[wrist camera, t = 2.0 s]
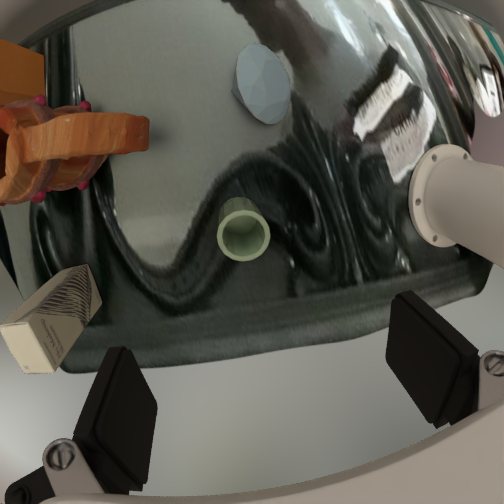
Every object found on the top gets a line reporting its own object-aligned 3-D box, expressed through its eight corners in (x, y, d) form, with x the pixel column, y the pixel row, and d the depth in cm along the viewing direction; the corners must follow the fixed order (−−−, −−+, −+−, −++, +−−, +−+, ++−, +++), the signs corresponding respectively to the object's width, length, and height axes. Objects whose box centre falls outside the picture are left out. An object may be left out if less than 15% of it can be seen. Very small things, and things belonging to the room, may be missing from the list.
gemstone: (199, 124, 22) (247, 113, 19) (202, 45, 21) (246, 26, 18) (257, 135, 28) (300, 130, 25) (256, 68, 27) (297, 57, 24)
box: (104, 302, 30) (58, 377, 18) (75, 308, 30) (25, 377, 18) (88, 260, 29) (26, 322, 16) (58, 267, 28) (-5, 326, 16)
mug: (45, 189, 25) (-54, 226, 11) (44, 114, 23) (-57, 109, 9) (172, 182, 27) (121, 219, 13) (175, 98, 24) (126, 49, 10)
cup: (256, 193, 28) (266, 206, 22) (262, 233, 29) (273, 256, 23) (214, 200, 28) (212, 215, 22) (222, 240, 29) (222, 265, 23)
